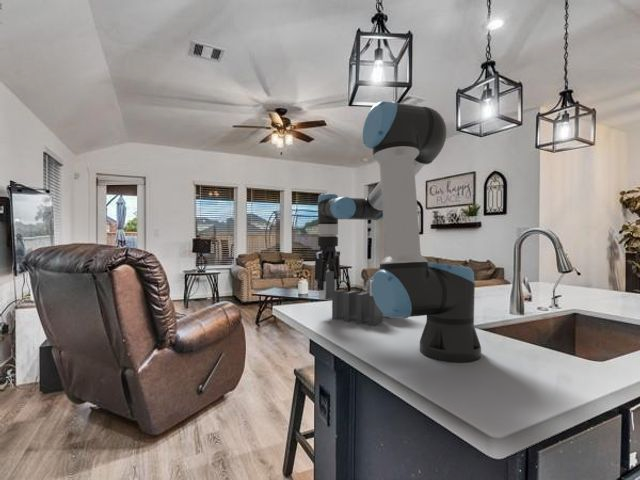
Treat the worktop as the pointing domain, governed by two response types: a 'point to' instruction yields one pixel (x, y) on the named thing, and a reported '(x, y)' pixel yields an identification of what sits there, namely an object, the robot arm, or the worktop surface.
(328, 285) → the domino
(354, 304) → the domino
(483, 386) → the worktop surface
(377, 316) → the domino
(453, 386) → the worktop surface
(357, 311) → the domino
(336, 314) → the domino
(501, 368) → the worktop surface
